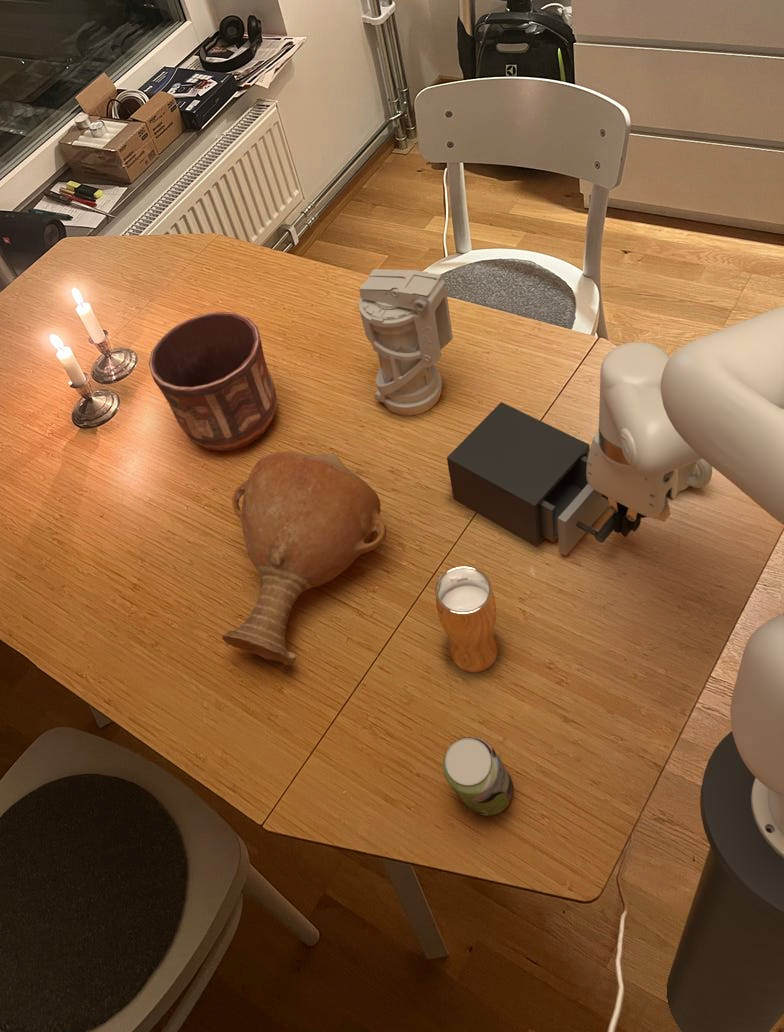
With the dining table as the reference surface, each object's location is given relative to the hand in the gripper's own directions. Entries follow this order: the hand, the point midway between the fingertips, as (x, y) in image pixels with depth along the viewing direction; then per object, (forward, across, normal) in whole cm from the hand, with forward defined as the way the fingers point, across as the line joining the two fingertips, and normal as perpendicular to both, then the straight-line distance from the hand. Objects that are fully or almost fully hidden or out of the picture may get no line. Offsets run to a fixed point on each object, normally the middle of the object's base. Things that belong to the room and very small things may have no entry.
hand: (626, 527), depth 119 cm
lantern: (+6, +42, -7) cm, 43 cm away
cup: (+6, +1, -14) cm, 15 cm away
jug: (+6, +33, +30) cm, 45 cm away
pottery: (+6, +64, +15) cm, 66 cm away
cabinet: (+5, +17, 0) cm, 18 cm away
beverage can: (+5, -5, +38) cm, 39 cm away
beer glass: (+5, +7, +24) cm, 26 cm away
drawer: (+4, +10, 0) cm, 11 cm away
